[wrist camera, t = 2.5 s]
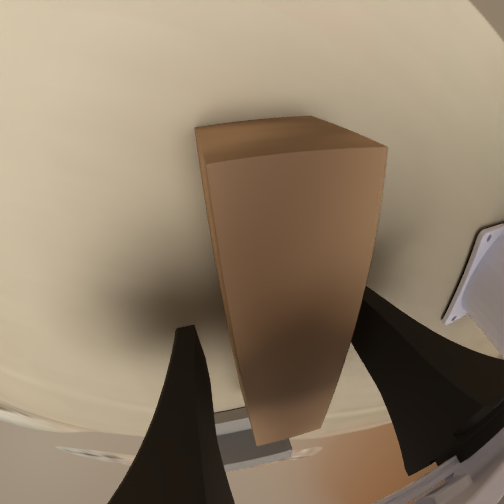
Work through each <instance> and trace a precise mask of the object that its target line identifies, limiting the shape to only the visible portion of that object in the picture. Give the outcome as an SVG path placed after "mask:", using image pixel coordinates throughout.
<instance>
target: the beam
mask: <svg viewBox="0 0 504 504" xmlns="http://www.w3.org/2000/svg"><path fill="white" fill-rule="evenodd" d="M195 135H196V142H197V149H198V156H199V163H200V170H201V177H202V183H203V190H204V196H205V203H206V209H207V215H208V221H209V227H210V233H211V239H212V245H213V251H214V256H215V262H216V268H217V273H218V279H219V284H220V289H221V295H222V300H223V305H224V310H225V315H226V320H227V325H228V330H229V335H230V340H231V345H232V350H233V354H234V359H235V364H236V368H237V373H238V378H239V382H240V387H241V391H242V395H243V399H244V402H245V406H246V410H247V413H248V417H249V421H250V424H251V428H252V432H253V435H254V439H255V442H256V446H260V445H264V444H268V443H272V442H276V441H280V440H284V439H287V438H291V437H294V436H298V435H301V434H304V433H307V432H310V431H314V430H317V429H320V428H321V426H322V423H323V421H324V418H325V416H326V413H327V411H328V408H329V405H330V403H331V400H332V397H333V394H334V392H335V389H336V386H337V383H338V380H339V377H340V374H341V371H342V368H343V365H344V362H345V359H346V356H347V352H348V349H349V346H350V343H351V339H352V336H353V332H354V329H355V325H356V321H357V318H358V314H359V310H360V306H361V302H362V298H363V294H364V290H365V286H366V282H367V277H368V273H369V268H370V263H371V258H372V253H373V248H374V243H375V238H376V232H377V226H378V220H379V214H380V208H381V201H382V194H383V186H384V178H385V169H386V159H387V149H388V147H386V146H384V145H382V144H380V143H378V142H376V141H373V140H371V139H369V138H366V137H364V136H362V135H359V134H357V133H355V132H352V131H350V130H347V129H345V128H342V127H340V126H337V125H335V124H332V123H329V122H327V121H324V120H321V119H318V118H316V117H313V116H300V117H283V118H269V119H258V120H248V121H239V122H231V123H223V124H216V125H209V126H203V127H196V128H195Z"/></svg>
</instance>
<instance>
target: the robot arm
mask: <svg viewBox="0 0 504 504" xmlns="http://www.w3.org/2000/svg"><path fill="white" fill-rule="evenodd" d="M466 314H469V316H470V317H471V318H472V319H473V320H474V321H475V323H476V324H477V325H478V326H479V327H480V329H481V330H482V331H483V332H484V333H485V335H486V336H487V337H488V338H489V340H490V341H491V342H492V343H493V345H494V346H495V347H496V349H497V350H498V351H499V352H500V354H501V355H502V356H503V358H504V223H503V224H499V225H496V226H493V227H490V228H487V229H483V230H482V231H481V232H480V233H479V235H478V237H477V240H476V243H475V245H474V248H473V251H472V254H471V256H470V259H469V262H468V264H467V267H466V269H465V272H464V274H463V277H462V279H461V281H460V284H459V286H458V288H457V291H456V293H455V295H454V297H453V299H452V302H451V304H450V306H449V308H448V310H447V312H446V314H445V316H444V318H443V321H442V322H443V323H444V325H448V324H450V323H452V322H454V321H455V320H457V319H459V318H461V317H463V316H465V315H466ZM351 342H352V345H353V346H354V348H355V350H356V351H357V353H358V355H359V357H360V358H361V360H362V362H363V363H364V365H365V367H366V368H367V370H368V372H369V373H370V375H371V377H372V379H373V380H374V382H375V384H376V385H377V387H378V389H379V391H380V393H381V395H382V398H383V400H384V402H385V405H386V407H387V410H388V412H389V415H390V418H391V420H392V423H393V425H394V429H395V432H396V435H397V438H398V441H399V445H400V449H401V452H402V457H403V461H404V466H405V470H406V472H407V474H408V476H410V475H412V474H414V473H416V472H418V471H420V470H421V469H423V468H425V467H427V466H429V465H430V464H432V463H433V462H435V461H436V463H437V465H438V467H436V468H435V469H433V470H432V471H430V472H429V473H427V474H425V475H424V476H422V477H421V478H419V479H417V480H416V481H414V482H412V483H411V484H409V485H407V486H405V487H404V488H402V489H400V490H398V491H396V492H394V493H392V494H391V495H389V496H387V497H385V498H383V499H381V500H379V501H376V502H374V503H372V504H406V503H408V502H409V501H411V500H413V499H414V498H416V497H418V496H419V495H421V494H423V493H424V492H425V493H424V494H423V495H421V496H420V497H419V498H417V499H416V500H415V501H414V502H413V504H497V503H498V502H499V500H500V499H501V498H502V497H503V495H504V360H502V359H498V358H494V357H491V356H487V355H484V354H481V353H479V352H476V351H473V350H471V349H468V348H466V347H464V346H461V345H459V344H457V343H455V342H452V341H450V340H448V339H447V338H445V337H443V336H441V335H439V334H437V333H435V332H434V331H432V330H430V329H429V328H427V327H425V326H424V325H422V324H420V323H419V322H417V321H416V320H414V319H413V318H411V317H410V316H408V315H407V314H405V313H404V312H402V311H401V310H399V309H398V308H396V307H395V306H394V305H392V304H391V303H389V302H388V301H387V300H385V299H384V298H382V297H381V296H380V295H378V294H377V293H375V292H374V291H373V290H371V289H370V288H368V287H367V286H365V290H364V294H363V298H362V302H361V306H360V310H359V314H358V318H357V321H356V325H355V329H354V332H353V336H352V339H351ZM444 479H445V482H444V483H442V484H440V485H438V486H436V487H434V486H435V485H437V484H438V483H439V482H441V481H442V480H444ZM432 487H434V488H432ZM431 488H432V489H431ZM429 489H430V490H429ZM427 490H429V491H427ZM426 491H427V492H426ZM108 504H235V503H234V500H233V496H232V493H231V490H230V487H229V484H228V480H227V476H226V472H225V469H224V465H223V461H222V457H221V453H220V449H219V445H218V440H217V435H216V427H215V419H214V411H213V402H212V393H211V383H210V378H209V373H208V368H207V363H206V358H205V355H204V352H203V349H202V347H201V344H200V341H199V338H198V335H197V332H196V329H195V326H194V325H191V326H186V327H180V328H177V329H176V331H175V338H174V344H173V349H172V354H171V358H170V363H169V367H168V371H167V374H166V378H165V382H164V386H163V389H162V392H161V395H160V398H159V401H158V405H157V408H156V410H155V413H154V416H153V419H152V421H151V424H150V426H149V429H148V431H147V433H146V436H145V438H144V440H143V442H142V445H141V447H140V449H139V451H138V453H137V455H136V457H135V459H134V461H133V463H132V465H131V466H130V468H129V470H128V472H127V474H126V476H125V477H124V479H123V481H122V482H121V484H120V486H119V487H118V489H117V490H116V492H115V493H114V495H113V496H112V498H111V499H110V501H109V502H108Z"/></svg>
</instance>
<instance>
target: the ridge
mask: <svg viewBox="0 0 504 504" xmlns="http://www.w3.org/2000/svg"><path fill="white" fill-rule="evenodd" d="M214 419H215V427H216V435H217V440H218V445H219V449H220V453H221V457H222V461H223V465H224V469H225V472H227V471H233V470H238V469H244V468H248V467H253V466H258V465H262V464H266V463H270V462H274V461H278V460H282V459H285V458H289V457H291V454H292V447H291V444H290V441H289V438H287V439H284V440H280V441H276V442H272V443H268V444H264V445H260V446H256V442H255V439H254V435H253V432H252V428H251V424H250V421H249V417H248V413H247V410H246V407H244V408H240V409H235V410H230V411H225V412H220V413H214Z"/></svg>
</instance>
